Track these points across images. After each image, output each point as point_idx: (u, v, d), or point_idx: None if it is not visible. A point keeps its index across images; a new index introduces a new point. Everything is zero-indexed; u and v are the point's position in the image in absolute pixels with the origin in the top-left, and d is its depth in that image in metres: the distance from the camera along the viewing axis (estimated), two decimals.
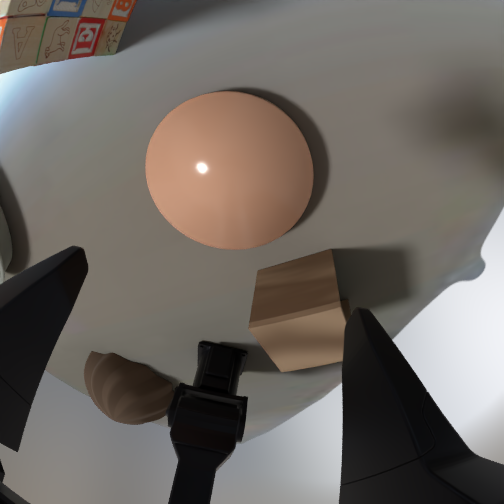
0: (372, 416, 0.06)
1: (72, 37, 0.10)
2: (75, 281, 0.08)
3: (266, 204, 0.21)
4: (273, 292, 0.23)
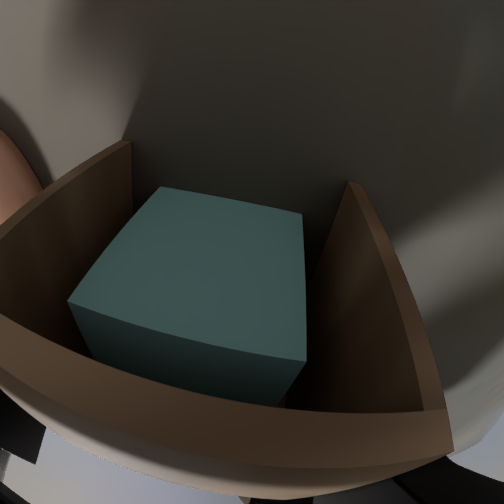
0: None
1: None
2: None
3: None
4: None
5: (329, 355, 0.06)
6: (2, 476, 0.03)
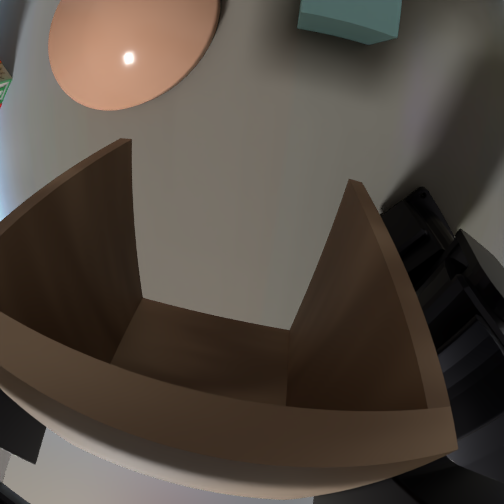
0: None
1: None
2: None
3: None
4: None
5: (330, 354, 0.06)
6: (2, 476, 0.03)
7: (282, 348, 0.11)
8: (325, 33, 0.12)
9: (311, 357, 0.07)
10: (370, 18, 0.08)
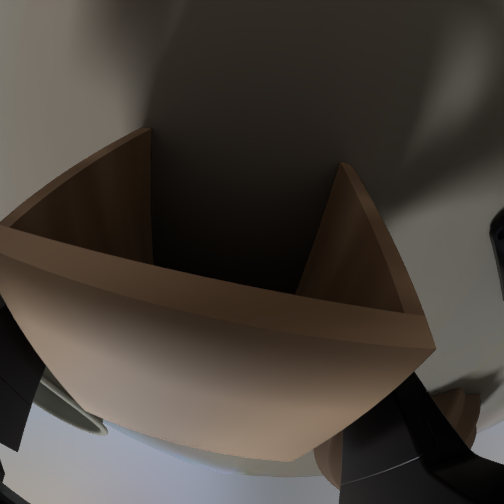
0: (372, 416, 0.06)
1: None
2: None
3: None
4: None
5: None
6: None
7: None
8: None
9: None
10: None
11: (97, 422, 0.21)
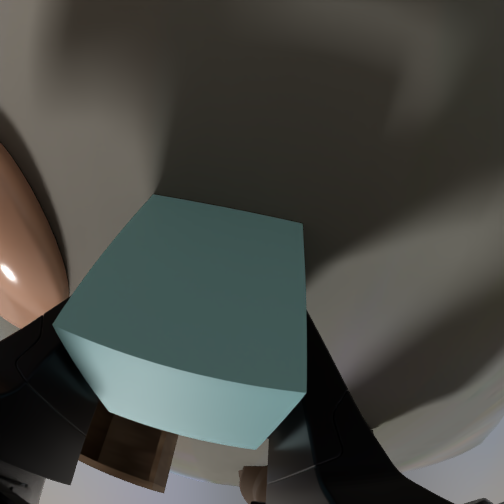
0: None
1: None
2: None
3: None
4: None
5: None
6: (37, 502, 0.03)
7: None
8: None
9: None
10: (208, 437, 0.06)
11: None
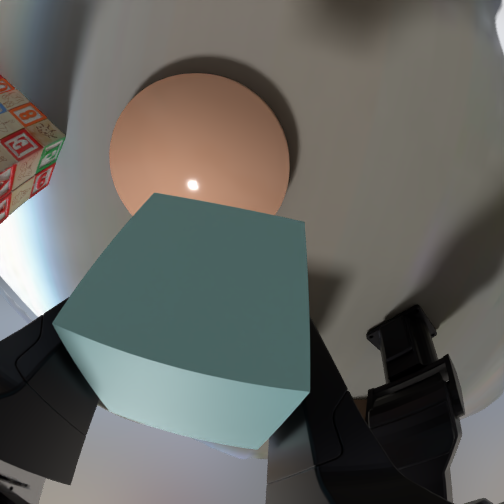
0: None
1: (6, 151, 0.13)
2: None
3: (240, 148, 0.17)
4: None
5: None
6: (37, 502, 0.03)
7: None
8: None
9: None
10: (209, 437, 0.06)
11: None
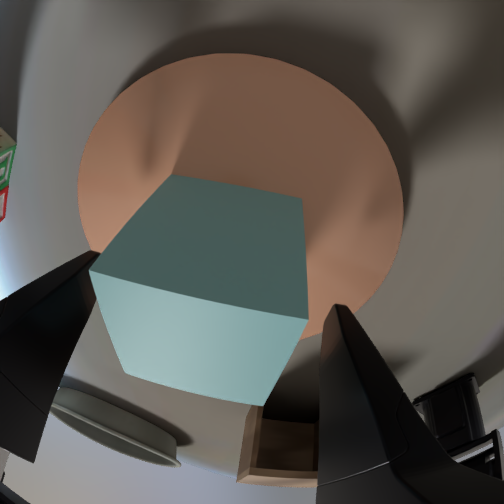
0: (346, 416, 0.06)
1: None
2: None
3: (326, 213, 0.09)
4: (244, 446, 0.20)
5: None
6: (0, 475, 0.03)
7: (311, 432, 0.23)
8: None
9: None
10: (219, 391, 0.07)
11: (179, 463, 0.32)
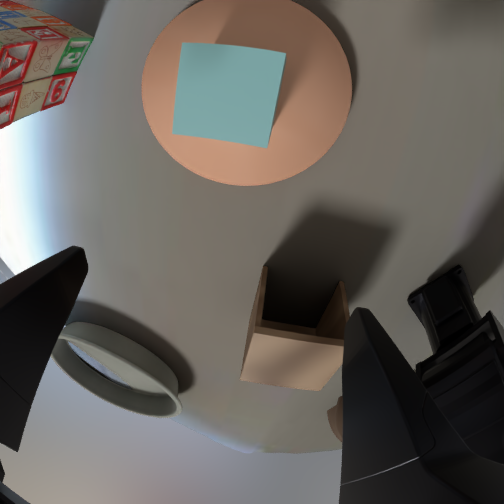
0: (372, 416, 0.06)
1: (26, 34, 0.08)
2: (75, 281, 0.08)
3: (301, 67, 0.13)
4: (248, 337, 0.24)
5: (332, 334, 0.22)
6: None
7: (313, 335, 0.27)
8: None
9: (326, 336, 0.24)
10: (238, 131, 0.12)
11: (180, 404, 0.36)
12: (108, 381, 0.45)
